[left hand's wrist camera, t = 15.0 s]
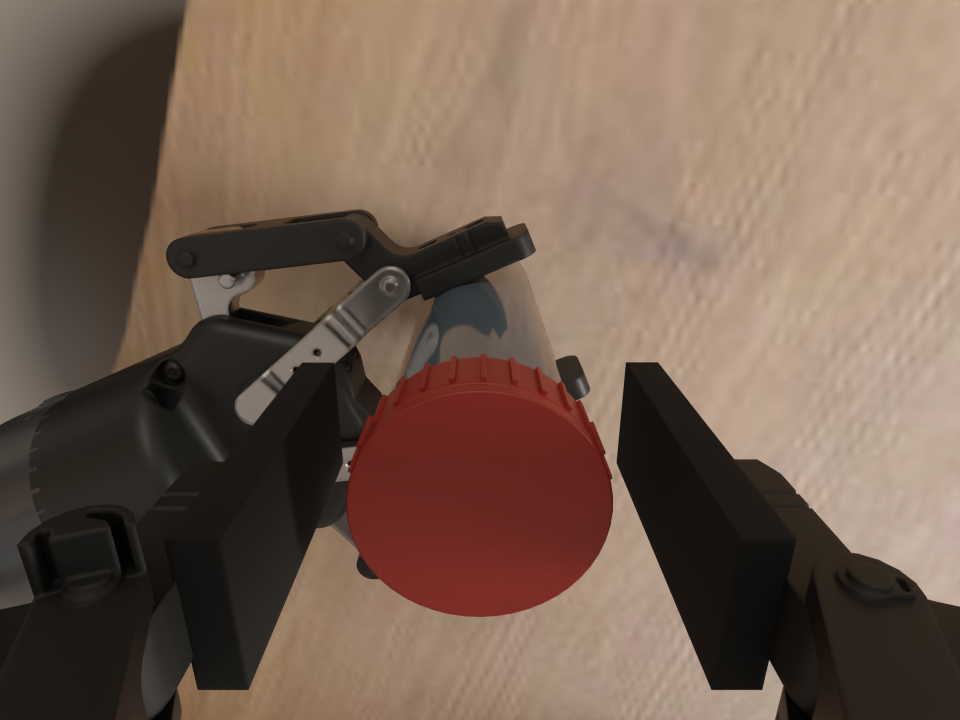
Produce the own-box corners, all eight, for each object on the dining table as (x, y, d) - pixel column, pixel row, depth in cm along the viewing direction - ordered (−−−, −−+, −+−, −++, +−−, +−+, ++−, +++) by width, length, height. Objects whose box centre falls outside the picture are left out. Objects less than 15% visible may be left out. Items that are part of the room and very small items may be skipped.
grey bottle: (491, 222, 24) (507, 341, 10) (549, 304, 26) (635, 513, 11) (408, 282, 25) (317, 470, 11) (469, 359, 26) (456, 616, 12)
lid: (310, 426, 12) (284, 471, 10) (526, 305, 11) (534, 334, 9) (440, 595, 13) (435, 655, 12) (639, 501, 12) (662, 553, 11)
